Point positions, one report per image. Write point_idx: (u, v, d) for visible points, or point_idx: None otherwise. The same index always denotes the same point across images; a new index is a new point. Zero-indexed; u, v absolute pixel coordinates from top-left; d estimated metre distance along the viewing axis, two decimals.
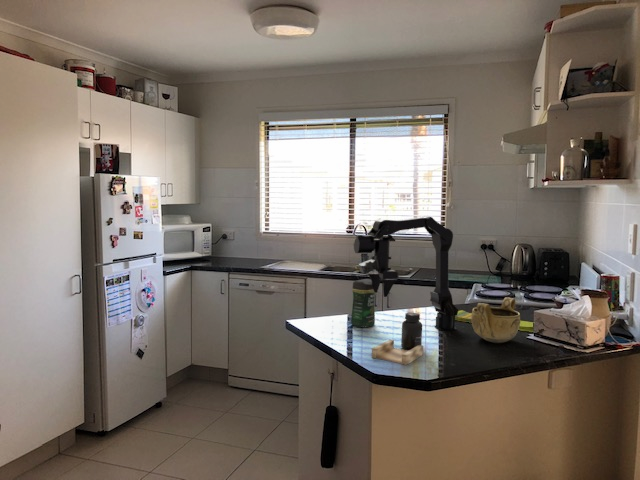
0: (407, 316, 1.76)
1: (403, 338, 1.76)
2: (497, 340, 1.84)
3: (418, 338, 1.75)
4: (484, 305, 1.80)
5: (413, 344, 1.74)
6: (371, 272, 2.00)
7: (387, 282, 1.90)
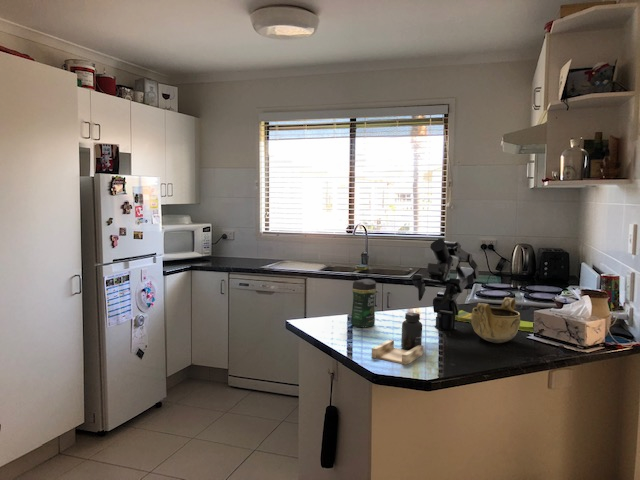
0: (407, 316, 1.76)
1: (403, 338, 1.76)
2: (497, 340, 1.84)
3: (418, 338, 1.75)
4: (484, 305, 1.80)
5: (413, 344, 1.74)
6: (422, 281, 1.96)
7: (449, 291, 1.90)
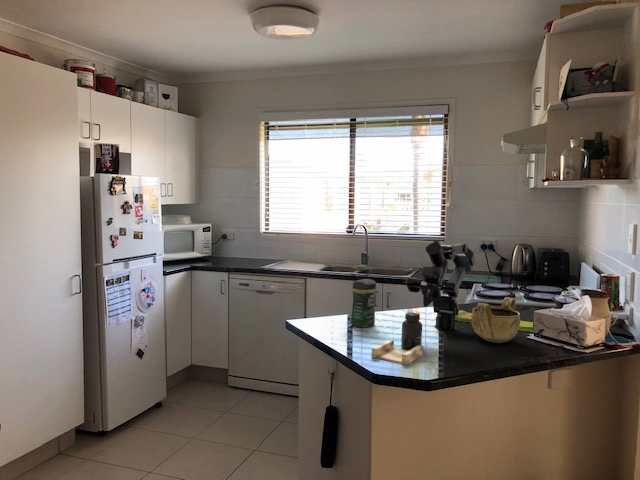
0: (407, 316, 1.76)
1: (403, 338, 1.76)
2: (497, 340, 1.84)
3: (418, 338, 1.75)
4: (484, 305, 1.80)
5: (413, 344, 1.74)
6: (427, 286, 1.89)
7: (433, 294, 1.88)
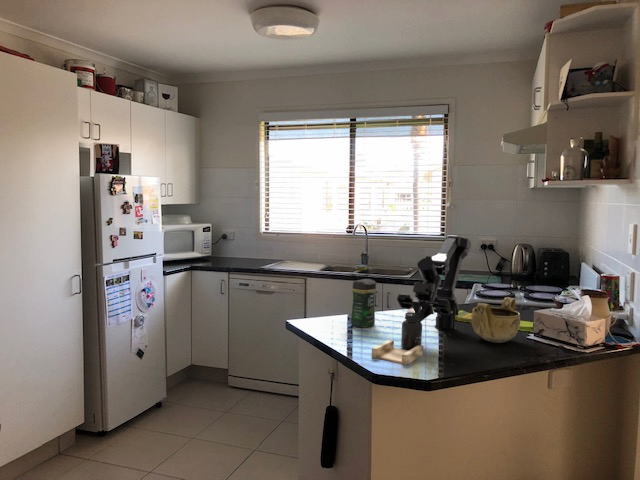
0: (407, 316, 1.76)
1: (403, 338, 1.76)
2: (497, 340, 1.84)
3: (418, 338, 1.75)
4: (484, 305, 1.80)
5: (413, 344, 1.74)
6: (418, 302, 1.84)
7: (425, 311, 1.82)
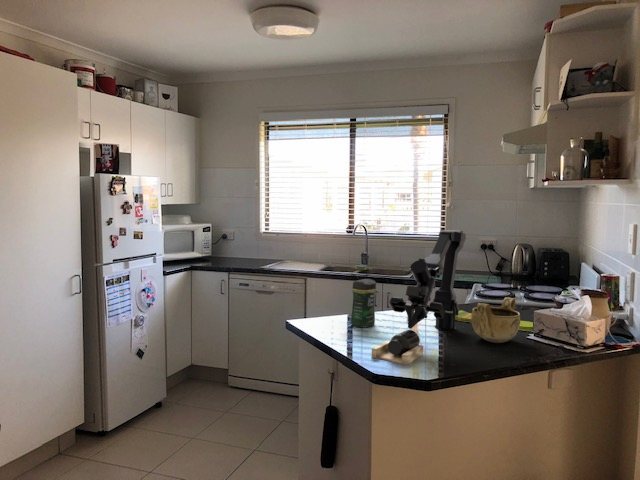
0: None
1: None
2: (497, 340, 1.84)
3: None
4: (484, 305, 1.80)
5: None
6: (412, 306, 1.79)
7: (418, 315, 1.77)
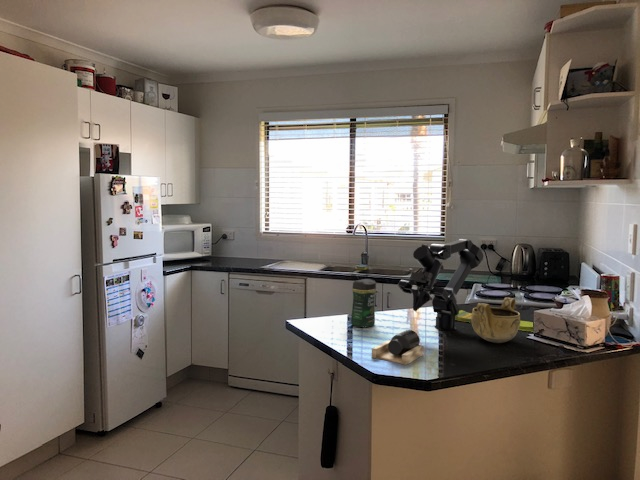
0: None
1: None
2: (497, 340, 1.84)
3: None
4: (484, 305, 1.80)
5: None
6: (417, 289, 1.91)
7: (423, 298, 1.90)
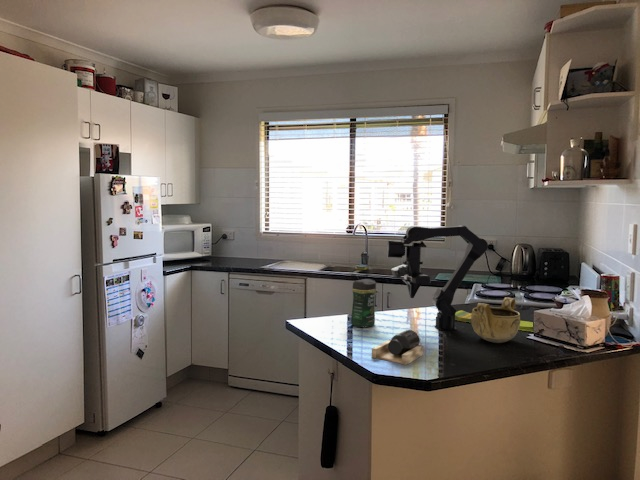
0: None
1: None
2: (497, 340, 1.84)
3: None
4: (484, 305, 1.80)
5: None
6: (407, 278, 2.04)
7: (414, 284, 2.03)
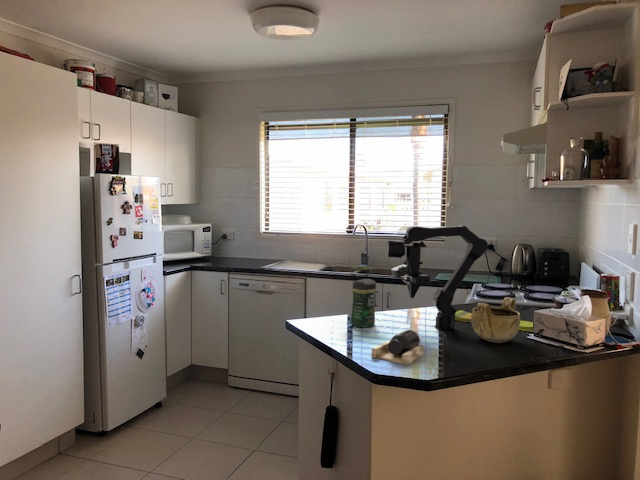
0: None
1: None
2: (497, 340, 1.84)
3: None
4: (484, 305, 1.80)
5: None
6: (407, 278, 2.04)
7: (414, 284, 2.03)
